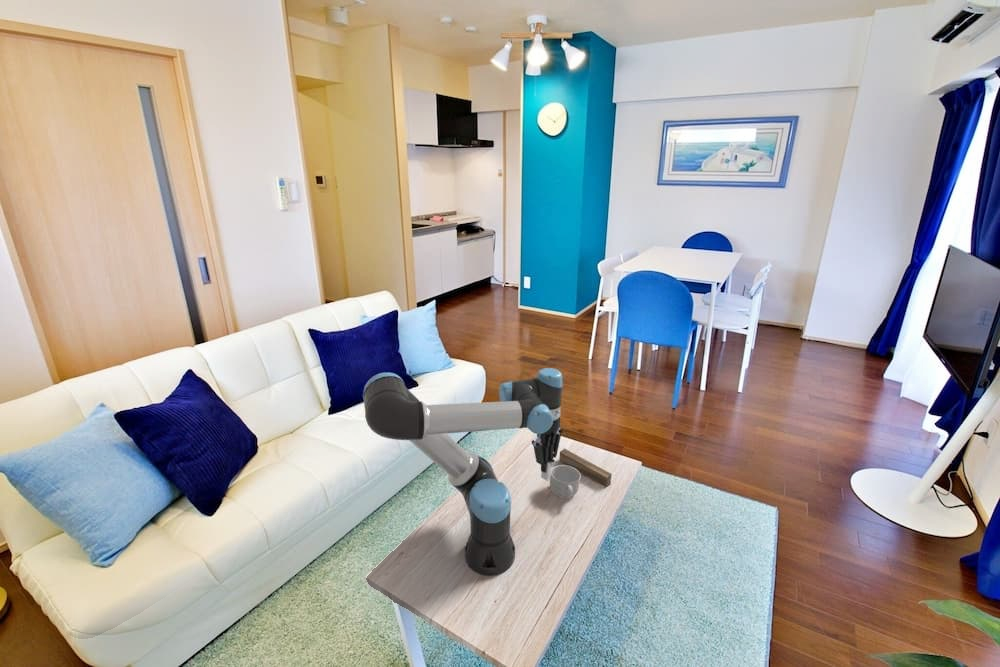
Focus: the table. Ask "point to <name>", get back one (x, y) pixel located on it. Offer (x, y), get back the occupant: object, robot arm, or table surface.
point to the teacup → (564, 480)
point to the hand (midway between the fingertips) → (545, 478)
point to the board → (585, 468)
